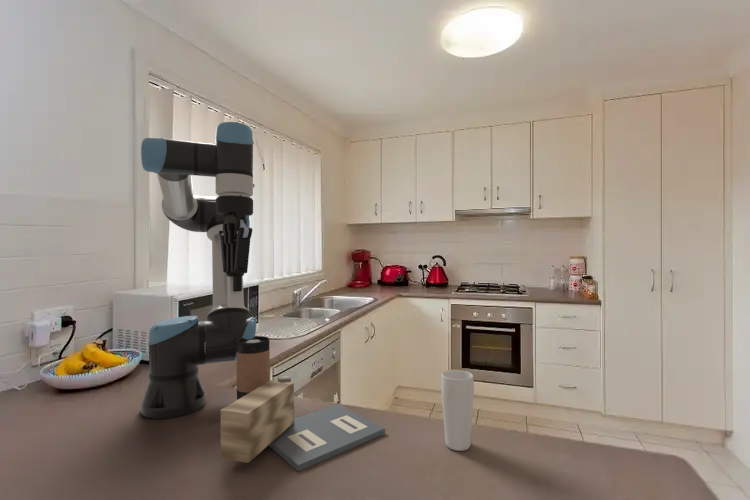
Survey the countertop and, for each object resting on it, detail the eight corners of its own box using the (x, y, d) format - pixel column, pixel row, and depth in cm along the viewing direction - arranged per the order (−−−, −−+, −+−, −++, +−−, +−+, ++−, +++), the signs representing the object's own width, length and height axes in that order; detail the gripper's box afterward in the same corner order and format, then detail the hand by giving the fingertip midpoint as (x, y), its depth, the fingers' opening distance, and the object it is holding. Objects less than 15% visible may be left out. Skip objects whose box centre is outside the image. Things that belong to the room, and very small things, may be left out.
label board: (255, 434, 84) (255, 425, 84) (335, 407, 99) (335, 399, 99) (298, 471, 70) (298, 460, 70) (384, 433, 84) (384, 424, 84)
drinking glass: (453, 434, 84) (452, 367, 84) (480, 445, 79) (480, 374, 79) (435, 445, 79) (434, 374, 79) (462, 458, 74) (462, 382, 74)
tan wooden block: (276, 414, 89) (276, 375, 89) (299, 417, 87) (299, 377, 87) (220, 457, 70) (220, 407, 70) (248, 462, 69) (248, 411, 69)
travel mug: (260, 431, 86) (259, 344, 86) (230, 428, 87) (229, 342, 87) (275, 417, 93) (275, 336, 93) (247, 414, 95) (247, 335, 95)
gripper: (264, 194, 78) (264, 308, 78) (240, 201, 88) (240, 302, 88) (228, 191, 73) (228, 312, 73) (206, 198, 83) (207, 305, 83)
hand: (235, 306), depth 80 cm, fingers closed
